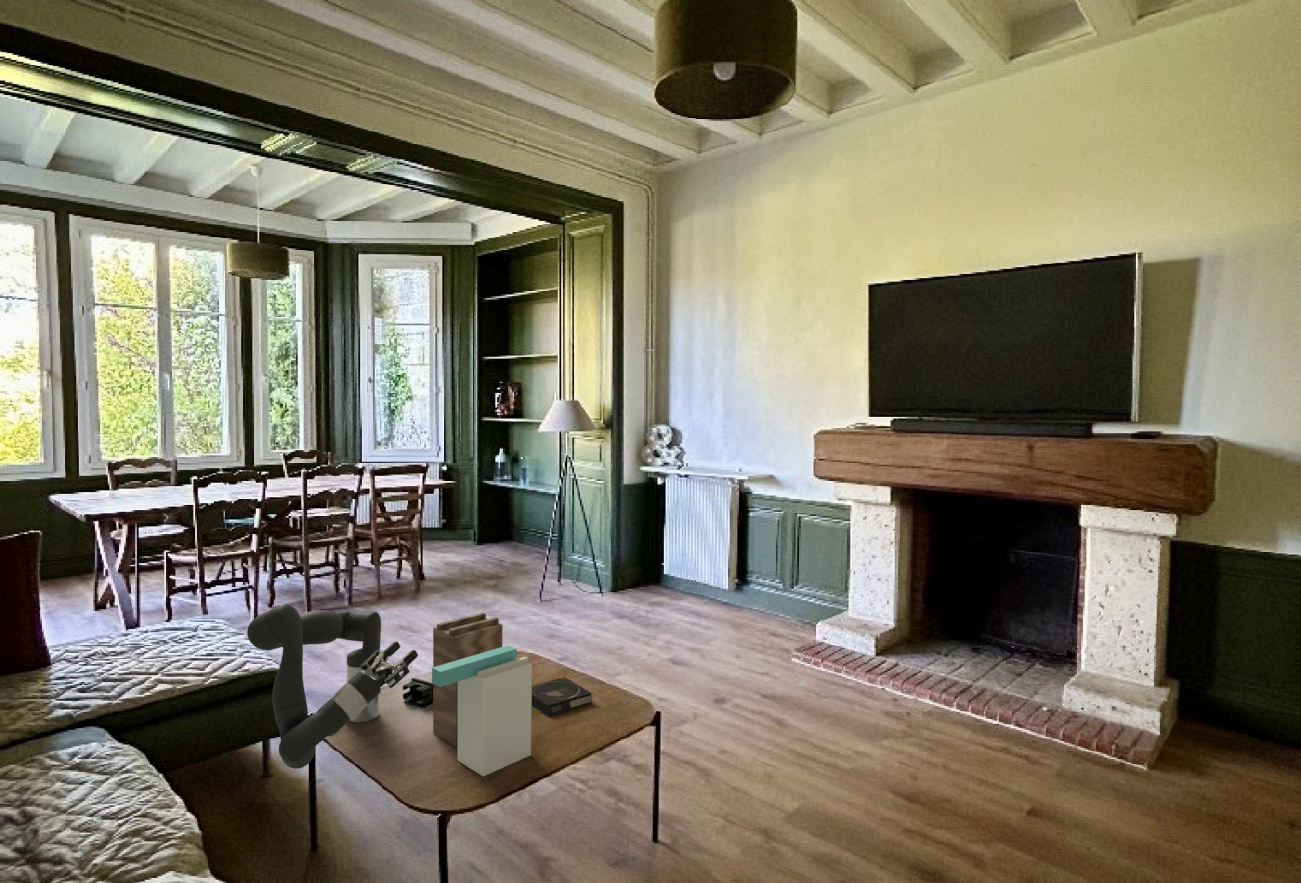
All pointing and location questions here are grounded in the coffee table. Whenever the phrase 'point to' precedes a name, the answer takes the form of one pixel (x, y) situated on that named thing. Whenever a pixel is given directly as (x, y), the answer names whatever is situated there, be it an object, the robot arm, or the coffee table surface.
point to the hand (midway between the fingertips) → (407, 647)
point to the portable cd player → (559, 696)
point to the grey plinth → (495, 716)
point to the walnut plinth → (454, 645)
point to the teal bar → (471, 665)
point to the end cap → (418, 693)
